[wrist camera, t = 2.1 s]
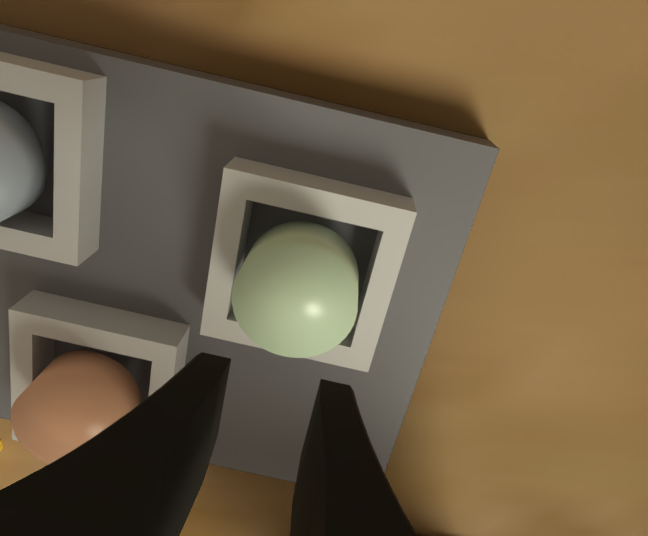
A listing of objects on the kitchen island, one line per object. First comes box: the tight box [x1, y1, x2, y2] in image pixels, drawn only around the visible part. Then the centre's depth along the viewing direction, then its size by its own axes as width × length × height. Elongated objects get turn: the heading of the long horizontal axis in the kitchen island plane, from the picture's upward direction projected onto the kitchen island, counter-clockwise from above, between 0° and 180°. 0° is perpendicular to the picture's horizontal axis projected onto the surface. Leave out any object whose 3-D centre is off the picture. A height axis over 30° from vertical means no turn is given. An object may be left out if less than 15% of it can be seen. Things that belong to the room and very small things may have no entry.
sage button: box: [232, 221, 359, 358], centre depth 16 cm, size 4×4×2 cm
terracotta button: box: [10, 350, 141, 465], centre depth 19 cm, size 4×4×2 cm
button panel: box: [0, 24, 499, 483], centre depth 19 cm, size 15×18×3 cm
